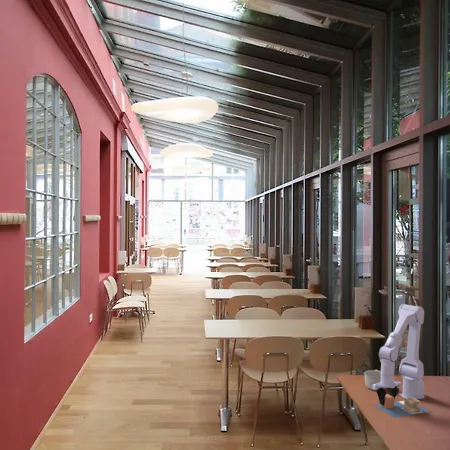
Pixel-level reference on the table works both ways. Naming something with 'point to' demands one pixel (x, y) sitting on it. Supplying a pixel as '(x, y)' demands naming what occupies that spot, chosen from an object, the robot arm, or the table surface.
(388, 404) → the terracotta cube
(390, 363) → the robot arm
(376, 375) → the teacup
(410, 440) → the table surface
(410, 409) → the maple cube
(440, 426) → the table surface
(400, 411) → the board
